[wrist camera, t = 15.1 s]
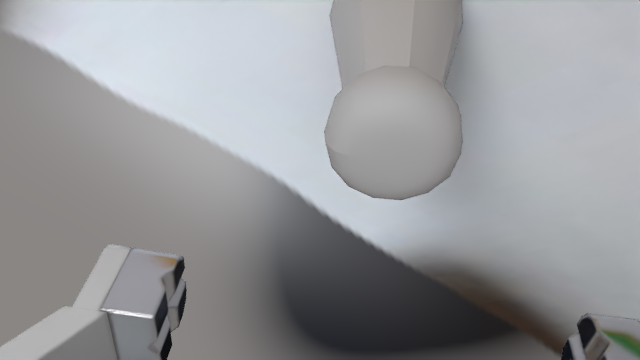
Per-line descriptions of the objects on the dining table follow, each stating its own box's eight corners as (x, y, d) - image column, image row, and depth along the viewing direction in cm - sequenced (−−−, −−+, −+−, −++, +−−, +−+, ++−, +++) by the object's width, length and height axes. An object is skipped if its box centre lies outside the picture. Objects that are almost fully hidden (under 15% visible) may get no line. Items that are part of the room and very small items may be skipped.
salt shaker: (395, -94, 25) (392, 28, 15) (484, -7, 27) (536, 155, 17) (310, 4, 28) (260, 161, 18) (396, 76, 30) (394, 256, 20)
